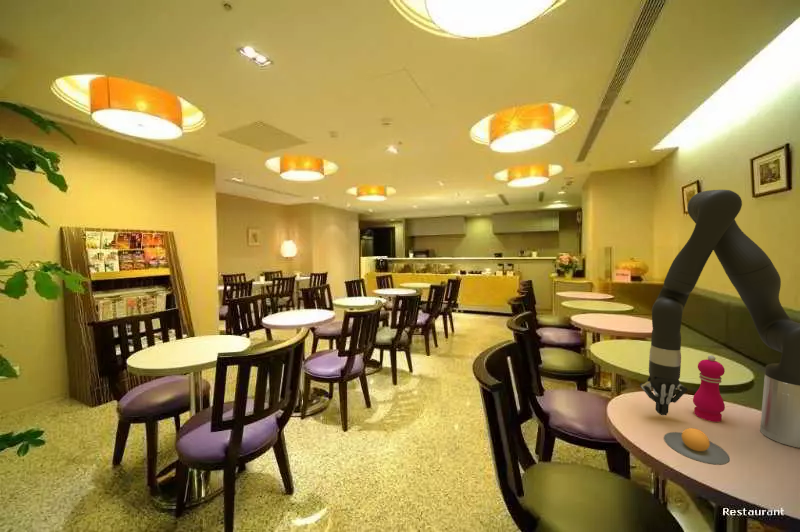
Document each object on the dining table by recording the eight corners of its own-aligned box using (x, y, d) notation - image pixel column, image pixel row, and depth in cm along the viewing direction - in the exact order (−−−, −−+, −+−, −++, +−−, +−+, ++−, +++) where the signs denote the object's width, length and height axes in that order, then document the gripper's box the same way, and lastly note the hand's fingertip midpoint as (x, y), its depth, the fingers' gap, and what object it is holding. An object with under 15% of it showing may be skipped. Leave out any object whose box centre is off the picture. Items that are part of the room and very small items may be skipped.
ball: (697, 445, 87) (695, 424, 88) (717, 455, 82) (714, 433, 82) (677, 445, 87) (675, 424, 88) (695, 455, 82) (692, 433, 82)
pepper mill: (730, 424, 96) (735, 360, 94) (702, 422, 97) (706, 359, 95) (712, 411, 103) (716, 352, 101) (686, 409, 104) (690, 350, 102)
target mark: (700, 433, 91) (700, 433, 91) (745, 465, 79) (745, 465, 78) (652, 431, 93) (652, 431, 93) (688, 463, 80) (688, 462, 80)
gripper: (650, 365, 95) (647, 419, 96) (697, 366, 93) (694, 421, 95) (634, 355, 102) (631, 406, 104) (678, 356, 101) (675, 408, 102)
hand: (661, 413), depth 99 cm, fingers closed
